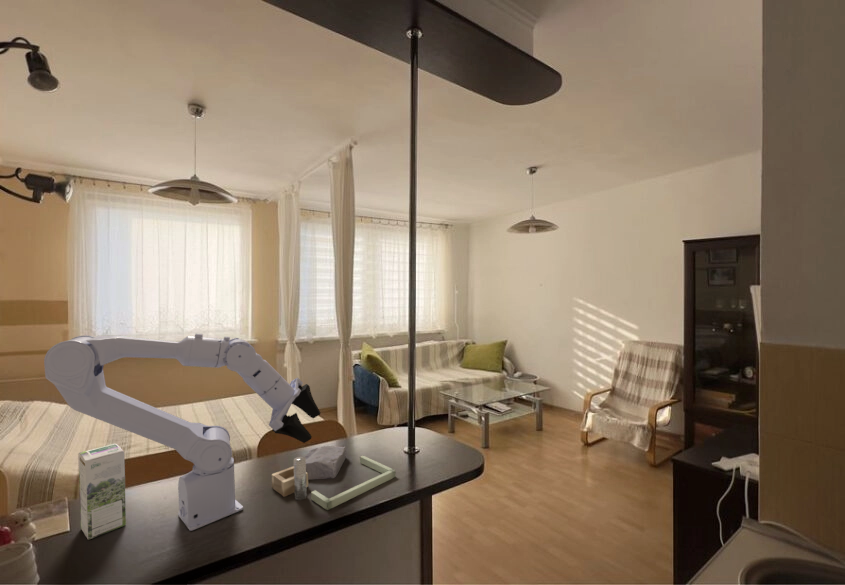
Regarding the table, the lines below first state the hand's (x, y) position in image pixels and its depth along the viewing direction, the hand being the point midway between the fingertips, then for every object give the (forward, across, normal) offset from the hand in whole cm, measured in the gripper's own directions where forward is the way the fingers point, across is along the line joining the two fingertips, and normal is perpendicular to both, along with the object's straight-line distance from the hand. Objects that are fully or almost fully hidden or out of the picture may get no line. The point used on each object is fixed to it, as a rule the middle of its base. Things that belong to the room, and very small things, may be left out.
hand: (312, 427), depth 87 cm
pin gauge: (+8, -9, +7) cm, 14 cm away
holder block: (+7, -5, +11) cm, 14 cm away
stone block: (+13, +3, +9) cm, 16 cm away
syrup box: (-14, -18, +33) cm, 40 cm away
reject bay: (+14, -4, +1) cm, 15 cm away
